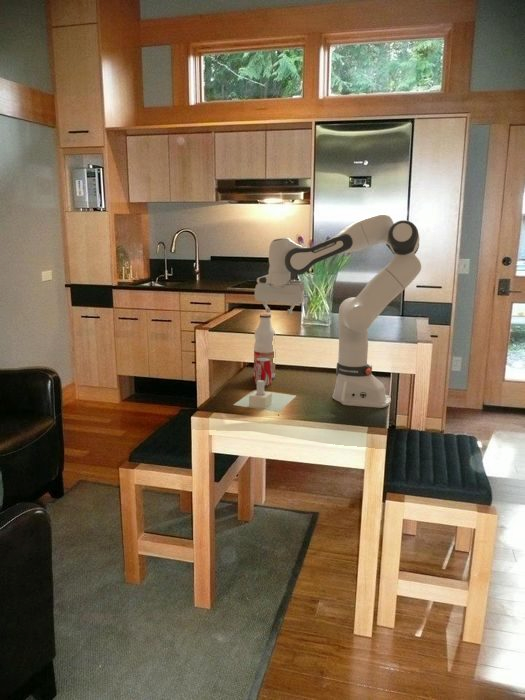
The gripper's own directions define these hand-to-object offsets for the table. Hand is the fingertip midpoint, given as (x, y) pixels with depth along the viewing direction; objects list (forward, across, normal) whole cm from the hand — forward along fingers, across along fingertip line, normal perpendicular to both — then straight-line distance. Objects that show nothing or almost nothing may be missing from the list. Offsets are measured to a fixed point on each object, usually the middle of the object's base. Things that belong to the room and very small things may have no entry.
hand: (278, 313), depth 224 cm
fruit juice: (+31, +10, -11) cm, 34 cm away
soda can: (+31, +5, +3) cm, 32 cm away
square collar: (+29, -4, +29) cm, 41 cm away
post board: (+31, -4, +23) cm, 39 cm away
